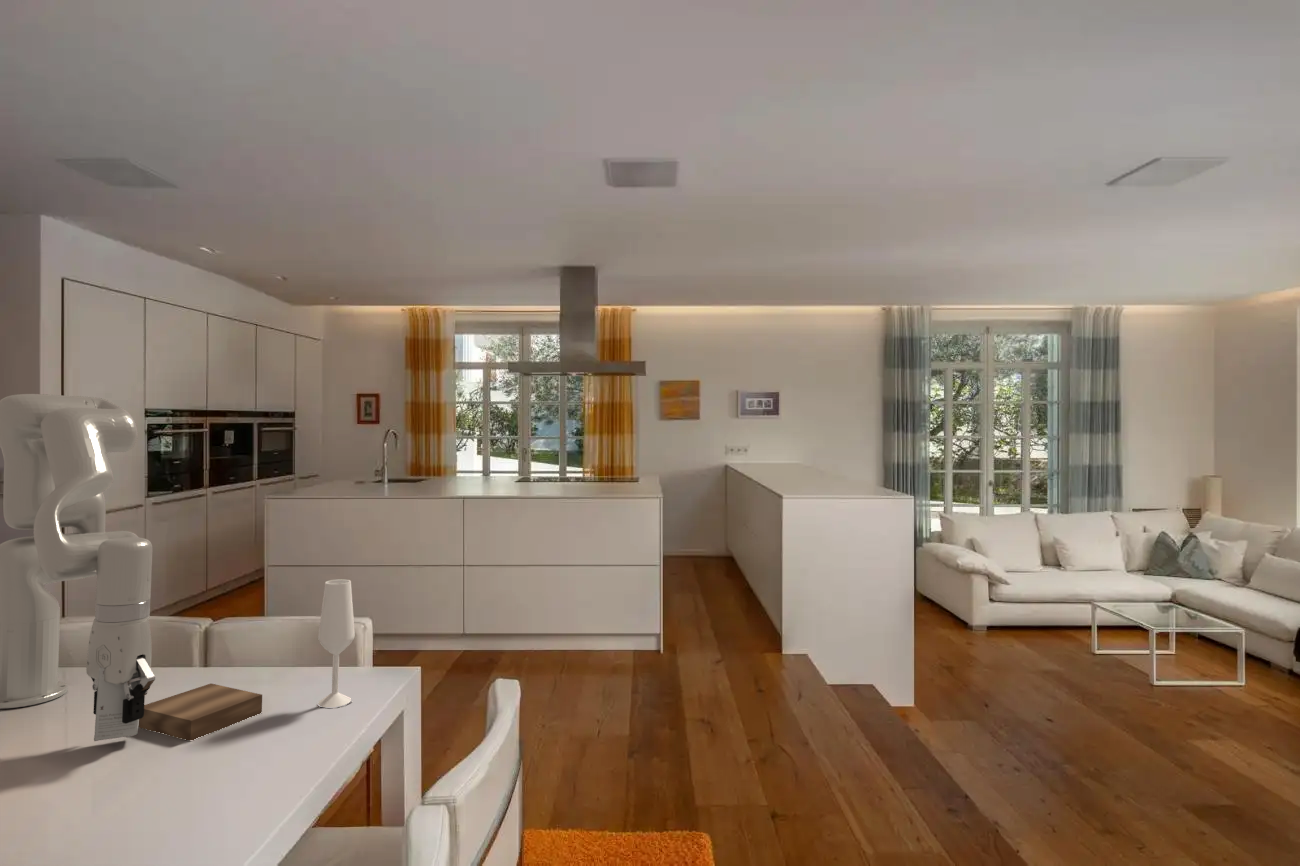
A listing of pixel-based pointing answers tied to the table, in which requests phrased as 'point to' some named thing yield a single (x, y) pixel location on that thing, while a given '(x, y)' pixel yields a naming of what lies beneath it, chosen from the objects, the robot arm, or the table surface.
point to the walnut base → (200, 711)
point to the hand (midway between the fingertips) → (118, 715)
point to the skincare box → (112, 711)
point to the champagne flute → (336, 631)
